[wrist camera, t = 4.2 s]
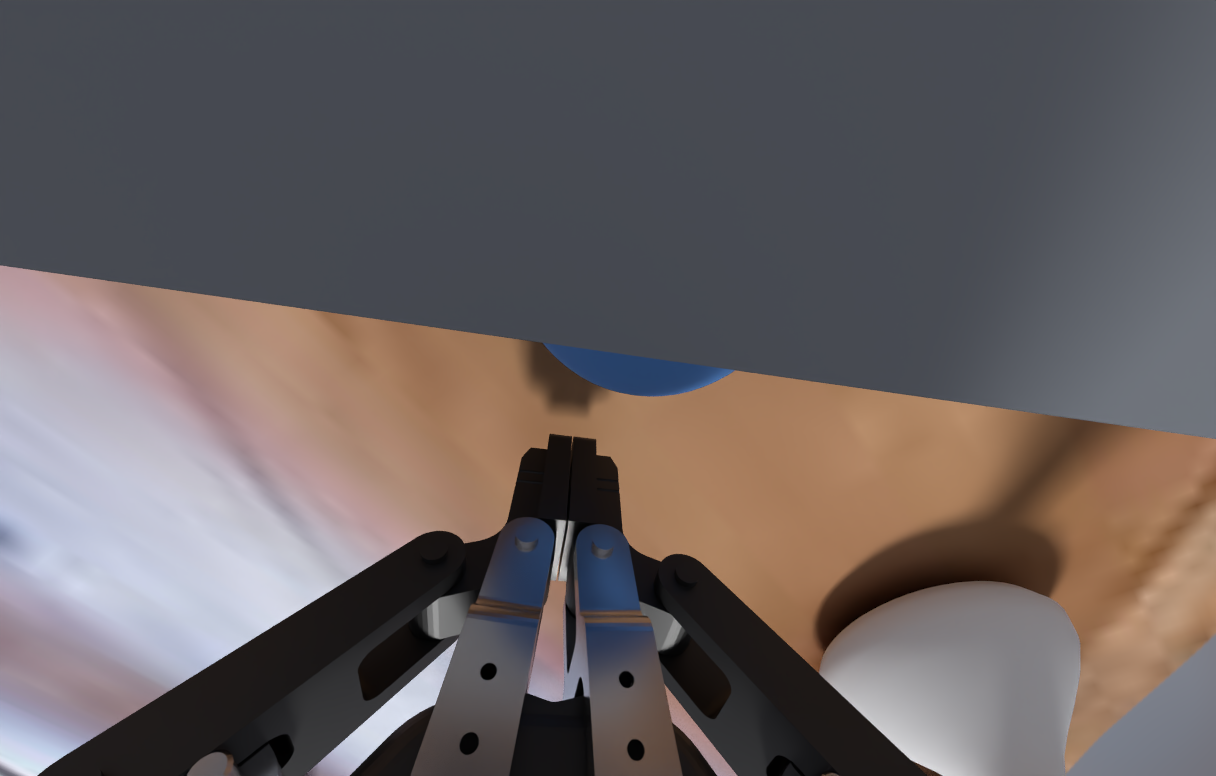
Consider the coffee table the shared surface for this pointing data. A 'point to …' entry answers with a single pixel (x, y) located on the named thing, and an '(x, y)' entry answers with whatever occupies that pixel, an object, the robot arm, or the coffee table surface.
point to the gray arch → (657, 179)
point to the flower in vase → (964, 677)
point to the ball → (636, 372)
